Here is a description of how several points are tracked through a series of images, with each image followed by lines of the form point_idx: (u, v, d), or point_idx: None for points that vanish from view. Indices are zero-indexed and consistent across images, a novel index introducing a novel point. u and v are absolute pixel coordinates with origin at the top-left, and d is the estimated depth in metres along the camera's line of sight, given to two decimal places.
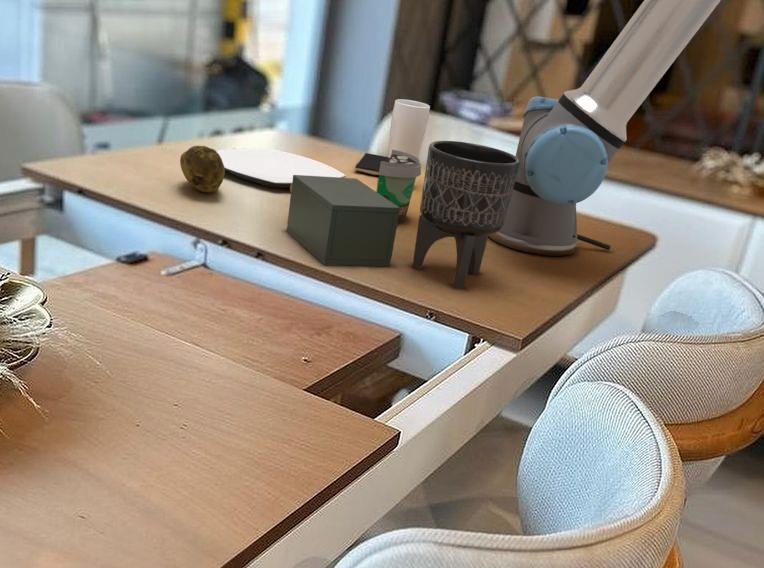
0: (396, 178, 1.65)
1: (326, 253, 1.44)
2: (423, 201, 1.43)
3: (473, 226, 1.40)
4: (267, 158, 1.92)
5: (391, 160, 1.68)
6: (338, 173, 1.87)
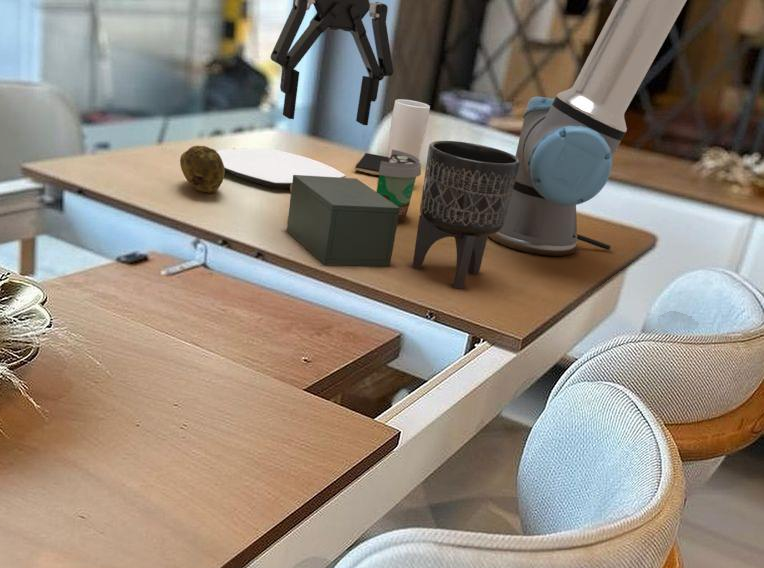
0: (396, 178, 1.65)
1: (326, 253, 1.44)
2: (423, 201, 1.43)
3: (473, 226, 1.40)
4: (267, 158, 1.92)
5: (391, 160, 1.68)
6: (338, 173, 1.87)
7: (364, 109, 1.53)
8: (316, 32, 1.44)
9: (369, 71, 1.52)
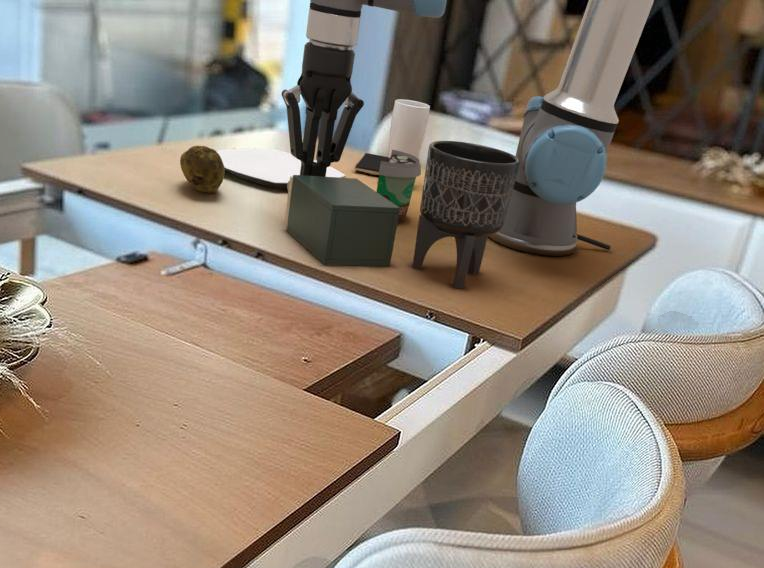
0: (396, 178, 1.65)
1: (326, 253, 1.44)
2: (423, 201, 1.43)
3: (473, 226, 1.40)
4: (267, 158, 1.92)
5: (391, 160, 1.68)
6: (338, 173, 1.87)
7: None
8: (315, 121, 1.52)
9: (317, 157, 1.58)
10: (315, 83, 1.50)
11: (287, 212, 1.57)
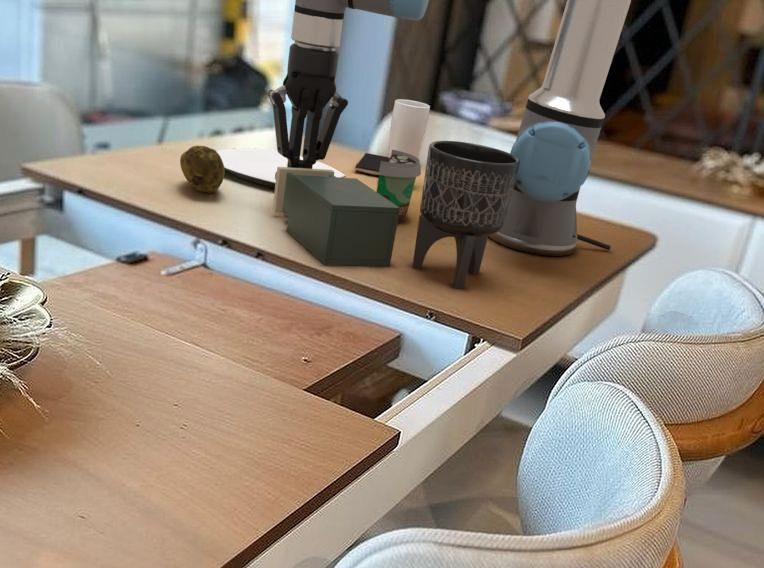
0: (396, 178, 1.65)
1: (326, 253, 1.44)
2: (423, 201, 1.43)
3: (473, 226, 1.40)
4: (267, 158, 1.92)
5: (391, 160, 1.68)
6: (338, 173, 1.87)
7: None
8: (300, 120, 1.57)
9: (303, 155, 1.62)
10: (300, 83, 1.54)
11: (275, 201, 1.61)
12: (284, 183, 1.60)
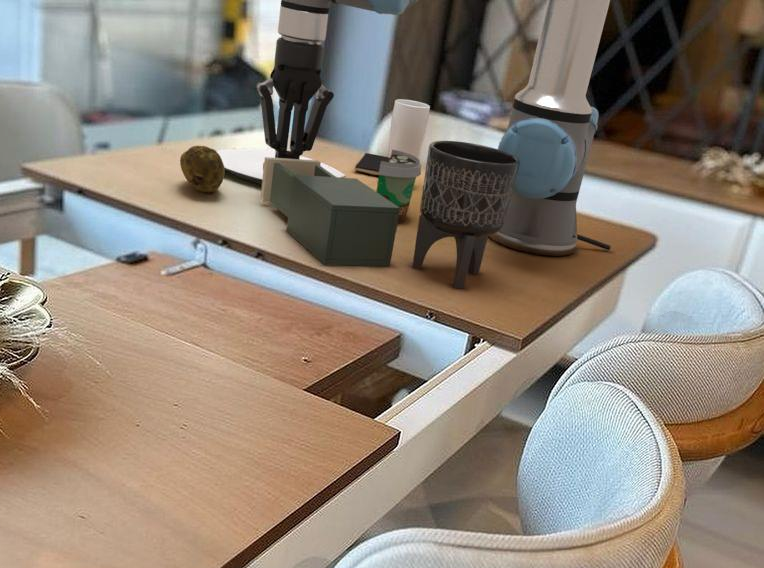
0: (396, 178, 1.65)
1: (326, 253, 1.44)
2: (423, 201, 1.43)
3: (473, 226, 1.40)
4: None
5: (391, 160, 1.68)
6: (338, 173, 1.87)
7: None
8: (287, 112, 1.62)
9: (290, 146, 1.67)
10: (287, 76, 1.59)
11: (262, 191, 1.66)
12: (271, 173, 1.64)
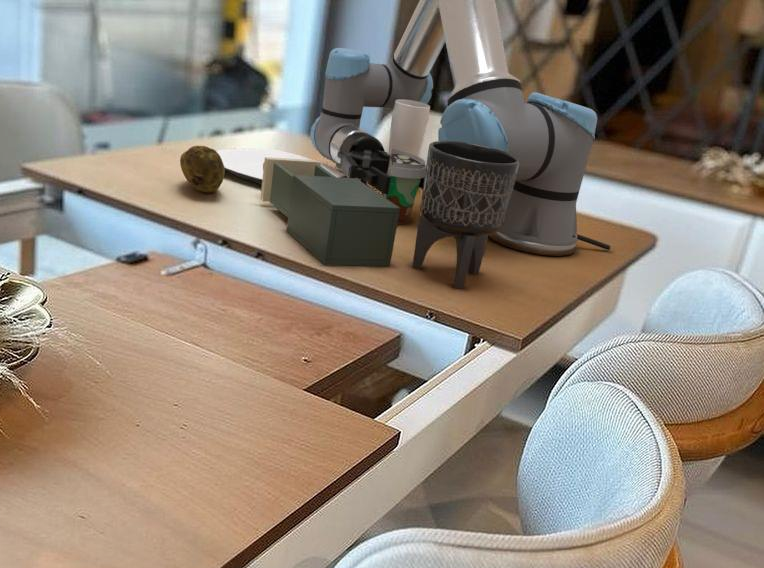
0: (406, 179, 1.65)
1: (326, 253, 1.44)
2: (423, 201, 1.43)
3: (473, 226, 1.40)
4: None
5: (397, 160, 1.68)
6: (338, 173, 1.87)
7: None
8: (366, 159, 1.74)
9: None
10: (360, 153, 1.78)
11: (262, 191, 1.66)
12: (271, 173, 1.64)
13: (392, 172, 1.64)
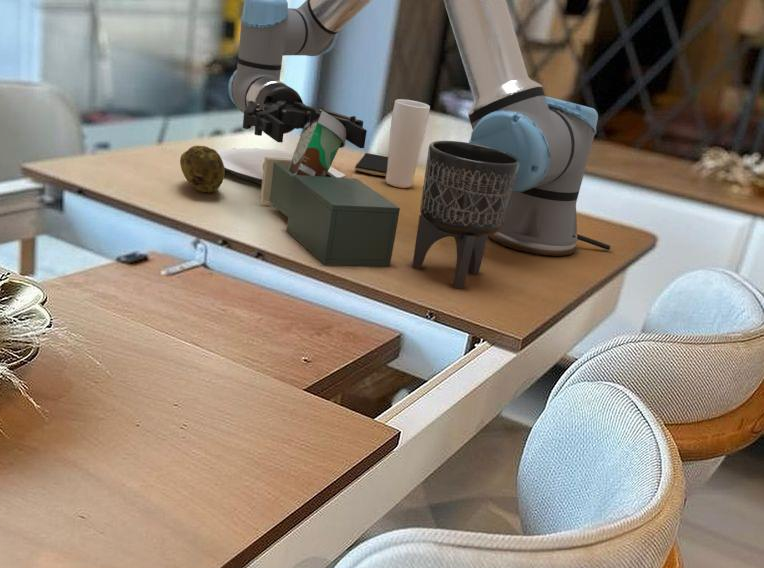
0: (331, 135, 1.56)
1: (326, 253, 1.44)
2: (423, 201, 1.43)
3: (473, 226, 1.40)
4: None
5: None
6: (338, 173, 1.87)
7: (356, 129, 1.58)
8: (273, 108, 1.60)
9: None
10: None
11: (262, 191, 1.66)
12: (271, 173, 1.64)
13: (320, 120, 1.54)
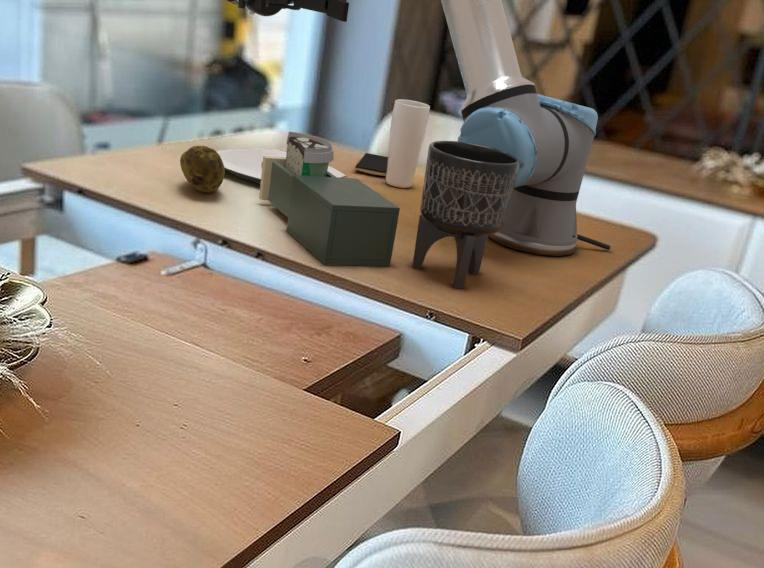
0: (319, 164, 1.56)
1: (326, 253, 1.44)
2: (423, 201, 1.43)
3: (473, 226, 1.40)
4: None
5: (303, 144, 1.58)
6: (338, 173, 1.87)
7: (339, 2, 1.59)
8: None
9: None
10: None
11: (261, 190, 1.66)
12: (270, 172, 1.65)
13: (305, 159, 1.54)
